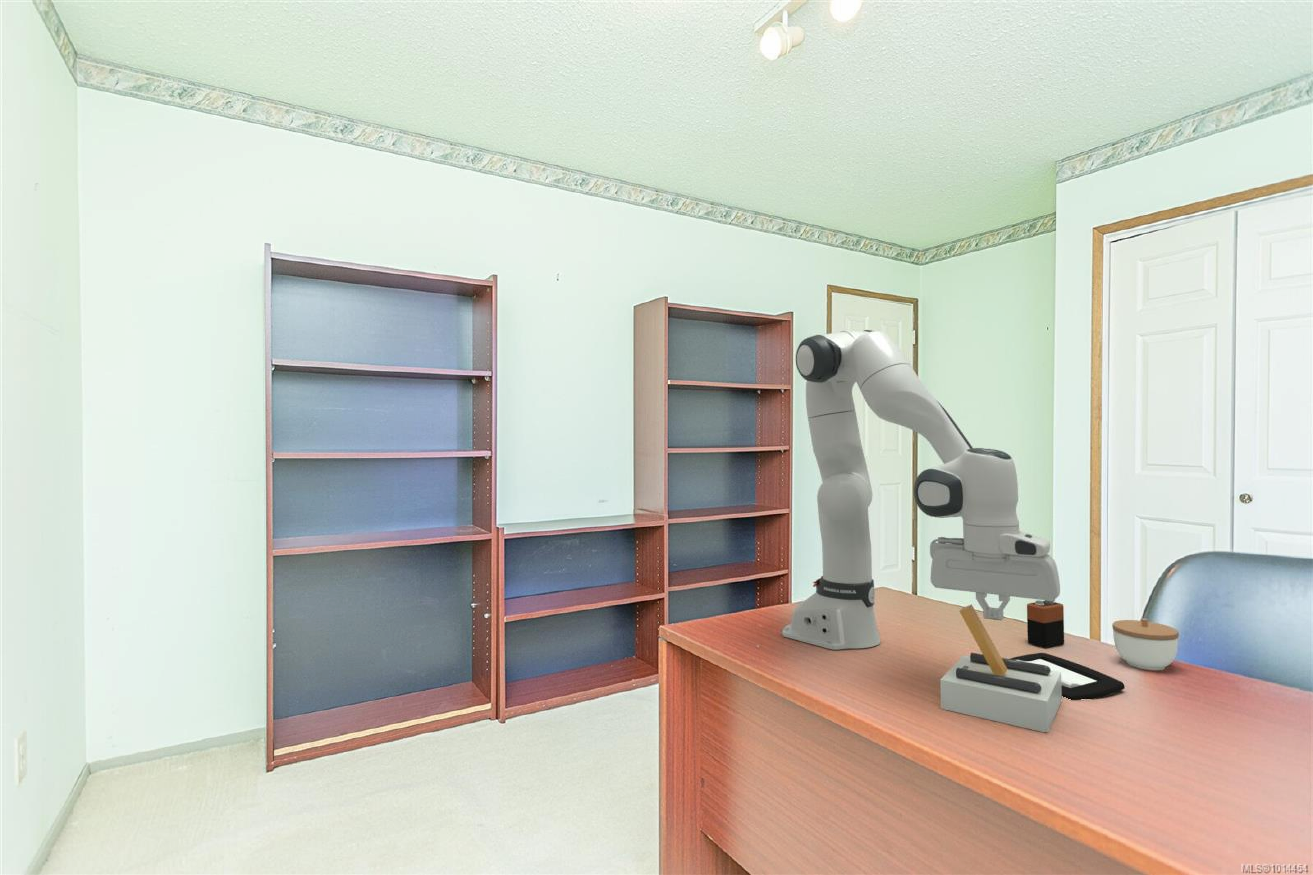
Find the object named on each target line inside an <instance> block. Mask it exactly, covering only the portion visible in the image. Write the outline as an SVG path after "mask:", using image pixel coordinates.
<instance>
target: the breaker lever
mask: <svg viewBox="0 0 1313 875" xmlns="http://www.w3.org/2000/svg"><path fill="white" fill-rule="evenodd" d="M959 614H960V616H962V619H963V621H964V622H965V624H966V626H967V627H968V630H969V632H970V633H971V635H972V637H973V638H974V641H975V642H976V644H977V646H978V648H979V651H980V652H981V653H982V654H983V655H984V657H985V659H986V661H987V663H988V665H989V666H990V668H991V670H992V672H993V674H994V675H999V676H1000V675H1003V674H1005V672H1006V671H1007V667H1006V665H1005V664H1004V662H1003V660H1002V658H1003V657H1001V655H1000V653H999V650H997V648H996V646H995V644H994V642H993V640H992V638H991V637H990V634H989V633H988V631H987V630H986V627H985V626H984V624H983V622H982V621H981V619H980V617H979V615H978V613H977V612H976V610H975V608H974V606H973V604H969V605H967V606H964V607H962V608H961V609H960V610H959Z"/></svg>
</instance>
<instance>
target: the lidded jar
mask: <svg viewBox="0 0 1313 875" xmlns="http://www.w3.org/2000/svg"><path fill="white" fill-rule="evenodd" d="M1140 619H1141V620H1136V619H1135V620H1134V619H1122V620H1116V621H1113V622H1112V632H1113V636H1112V637H1113V641H1114V646H1115V649H1116V650H1117V652H1118V655H1120V656H1121V657H1122V658H1123V660H1124V661H1126V664H1127V665H1129V666H1131V667H1133V668H1137V669H1140V670H1146V671H1155V672H1157V671H1163V670H1165V669H1166V667H1169V665H1170V664H1172V663H1173V661H1174V660H1175V659H1176V656H1177V654H1178V648H1179V637H1180V636H1179V635H1180V634H1179V631H1178V630H1177V629H1176V628H1174V627H1172V626H1169V625H1167V624H1163V623H1162V624H1161V623H1159V622H1155V621H1154V622H1152V621H1148V618H1140Z"/></svg>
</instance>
